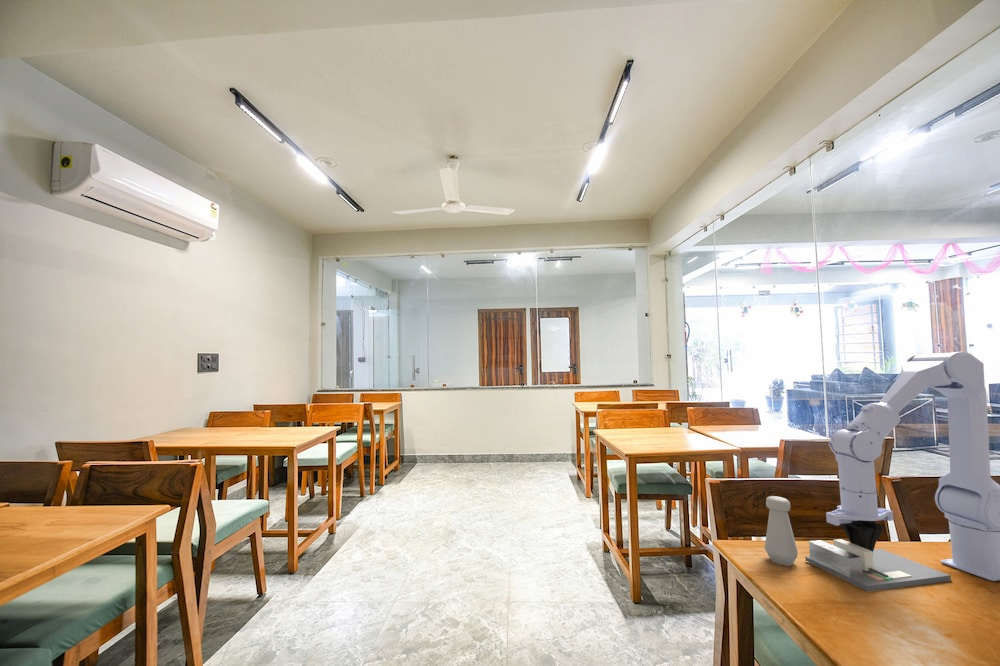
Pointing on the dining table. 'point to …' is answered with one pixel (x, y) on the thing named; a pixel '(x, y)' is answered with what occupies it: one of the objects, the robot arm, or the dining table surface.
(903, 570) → the base
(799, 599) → the dining table surface
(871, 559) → the white rectangular bar
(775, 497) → the salt shaker
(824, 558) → the grey block
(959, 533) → the robot arm
